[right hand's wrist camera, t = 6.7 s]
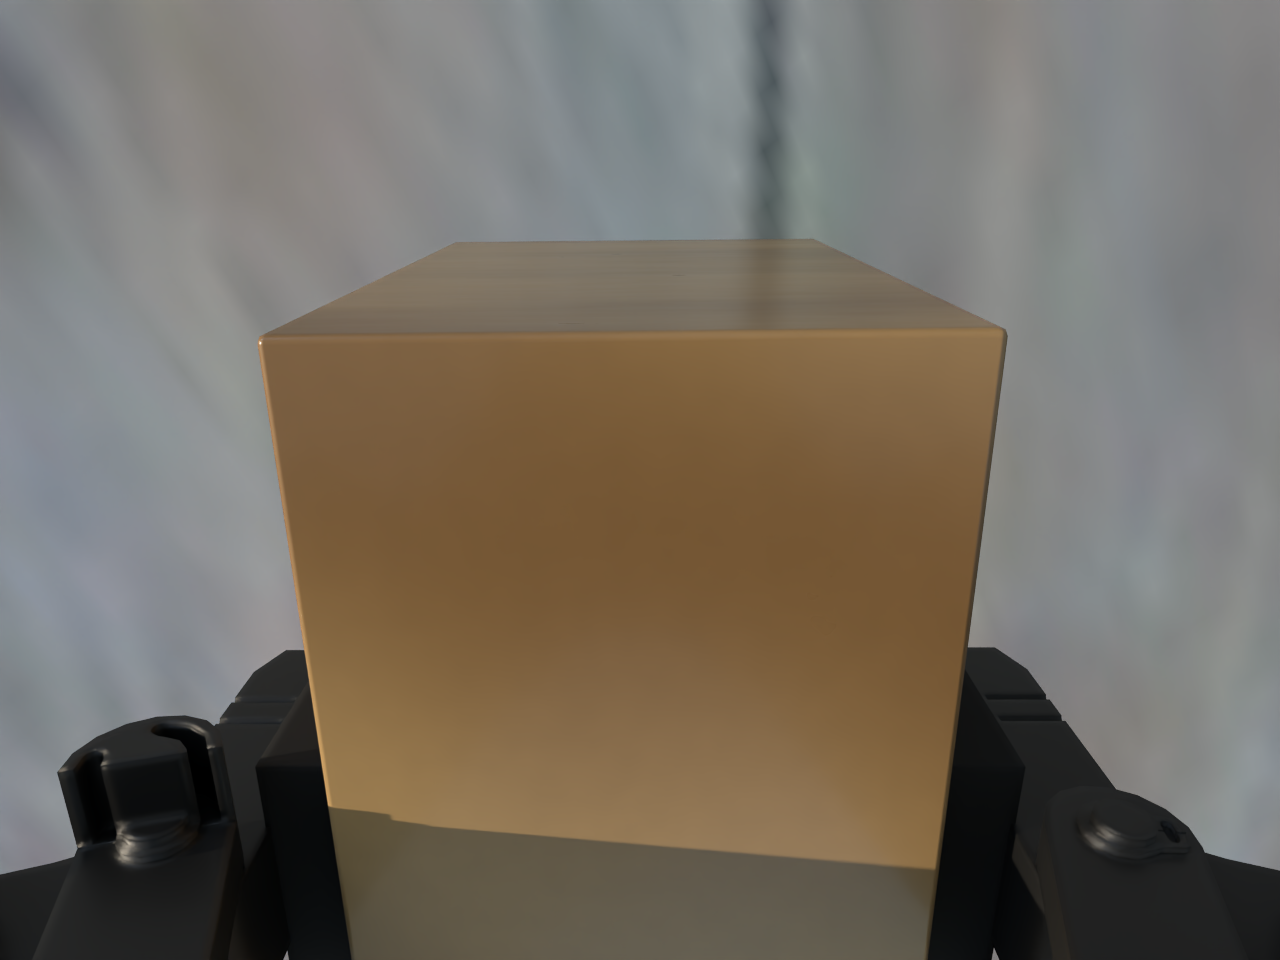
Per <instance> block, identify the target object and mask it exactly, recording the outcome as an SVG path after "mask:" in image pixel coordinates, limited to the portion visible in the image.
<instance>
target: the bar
mask: <svg viewBox="0 0 1280 960" xmlns="http://www.w3.org/2000/svg"><path fill="white" fill-rule="evenodd" d="M1007 337H1008V336H1007V332H1006V329H1003V328H1001V327H999V326H997V325H995V324H993V323H991V322H989V321H986V320H984V319H982V318H980V317H978V316H976V315H974V314H972V313H969V312H967V311H965V310H963V309H961V308H959V307H957V306H955V305H953V304H950V303H948V302H946V301H944V300H942V299H940V298H938V297H936V296H933V295H931V294H929V293H927V292H925V291H923V290H921V289H919V288H916V287H914V286H912V285H910V284H908V283H906V282H904V281H902V280H899V279H897V278H895V277H893V276H891V275H889V274H887V273H885V272H883V271H880V270H878V269H876V268H874V267H872V266H870V265H868V264H866V263H863V262H861V261H859V260H857V259H855V258H853V257H851V256H849V255H846V254H844V253H842V252H840V251H838V250H836V249H834V248H832V247H829V246H827V245H825V244H823V243H821V242H819V241H817V240H814V239H752V240H647V241H542V242H456V243H454V244H452V245H450V246H447V247H445V248H443V249H441V250H439V251H437V252H435V253H433V254H431V255H429V256H427V257H424V258H422V259H420V260H418V261H416V262H414V263H412V264H410V265H408V266H406V267H404V268H402V269H399V270H397V271H395V272H393V273H391V274H389V275H387V276H385V277H383V278H381V279H379V280H377V281H374V282H372V283H370V284H368V285H366V286H364V287H362V288H360V289H358V290H356V291H354V292H352V293H349V294H347V295H345V296H343V297H341V298H339V299H337V300H335V301H333V302H331V303H329V304H327V305H324V306H322V307H320V308H318V309H316V310H314V311H312V312H310V313H308V314H306V315H304V316H302V317H299V318H297V319H295V320H293V321H291V322H289V323H287V324H285V325H283V326H281V327H279V328H276V329H274V330H272V331H270V332H268V333H266V334H264V335H262V336H260V337H259V340H258V349H259V356H260V362H261V369H262V375H263V382H264V388H265V395H266V402H267V408H268V415H269V421H270V428H271V434H272V441H273V447H274V454H275V461H276V467H277V474H278V480H279V487H280V493H281V500H282V506H283V513H284V520H285V526H286V533H287V539H288V546H289V552H290V559H291V565H292V572H293V579H294V585H295V592H296V598H297V605H298V611H299V618H300V624H301V631H302V638H303V644H304V651H305V657H306V664H307V670H308V677H309V683H310V690H311V697H312V703H313V710H314V716H315V723H316V729H317V736H318V742H319V749H320V756H321V762H322V769H323V775H324V782H325V788H326V795H327V801H328V808H329V815H330V821H331V828H332V834H333V841H334V847H335V854H336V860H337V867H338V874H339V880H340V887H341V893H342V900H343V906H344V913H345V920H346V926H347V933H348V939H349V946H350V952H351V959H352V960H927V959H928V951H929V944H930V936H931V928H932V920H933V912H934V905H935V897H936V889H937V881H938V874H939V866H940V858H941V850H942V842H943V835H944V827H945V819H946V811H947V804H948V796H949V788H950V780H951V772H952V765H953V757H954V749H955V741H956V734H957V726H958V718H959V710H960V702H961V695H962V687H963V679H964V671H965V664H966V656H967V648H968V640H969V632H970V625H971V617H972V609H973V601H974V594H975V586H976V578H977V570H978V562H979V555H980V547H981V539H982V531H983V524H984V516H985V508H986V500H987V492H988V485H989V477H990V469H991V461H992V454H993V446H994V438H995V430H996V422H997V415H998V407H999V399H1000V391H1001V384H1002V376H1003V368H1004V360H1005V352H1006V345H1007Z"/></svg>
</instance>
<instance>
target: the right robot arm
mask: <svg viewBox="0 0 1280 960" xmlns="http://www.w3.org/2000/svg"><path fill="white" fill-rule="evenodd" d="M57 773H58V777H59V781H60V784H61V788H62V792H63V795H64V799H65V803H66V807H67V810H68V814H69V818H70V822H71V825H72V829H73V833H74V837H75V840H76V844H77V848H78V849H77V851H76V854H75V856H74V857H72V858H69V859H65V860H62V861H58V862H55V863H51V864H46V865H42V866H37V867H33V868H28V869H24V870H19V871H15V872H10V873H6V874H1V875H0V960H283V959H284V957H285V954H286V952H287V951H288V956H289V960H352V959H351V952H350V946H349V939H348V933H347V926H346V920H345V913H344V906H343V900H342V893H341V887H340V880H339V874H338V867H337V860H336V854H335V847H334V841H333V834H332V828H331V821H330V815H329V808H328V801H327V795H326V788H325V782H324V775H323V769H322V762H321V756H320V749H319V742H318V736H317V729H316V723H315V716H314V710H313V703H312V697H311V690H310V683H309V677H308V670H307V664H306V657H305V651H304V650H286V651H284V652H283V653H281V654H280V655H278V656H277V657H276V658H274V659H273V660H271V661H270V662H268V663H267V664H265V665H264V666H262V667H261V668H259V669H258V670H256V671H255V672H254V673H253V674H252V676H251V677H250V678H249V680H248V681H247V682H246V684H245V685H244V686H243V688H242V689H241V690H240V692H239V693H238V695H237V696H236V697H235V703H231V704H230V705H229V707H228V708H227V710H226V711H225V712H224V714H223V715H222V716H221V718H220V723H219V724H216V725H215V726H213V725H212V724H211V723H210V722H208V721H207V720H203V719H198V718H194V717H189V716H164V717H154V718H150V719H146V720H142V721H137V722H133V723H129V724H126V725H123V726H121V727H119V728H116V729H114V730H112V731H109V732H107V733H105V734H102V735H100V736H98V737H96V738H94V739H93V740H92V741H90V742H89V743H87V744H86V745H84V746H83V747H81V748H80V749H79V750H77V751H76V752H74V753H73V754H72V755H71V756H70V757H69V759H68V760H67V761H66V762H65V764H64V765H63V766H62V767H61V768H60V770H59V771H58V772H57ZM994 948H995V951H996V953H997V955H998V957H999V960H1280V871H1279V870H1274V869H1270V868H1265V867H1261V866H1256V865H1252V864H1247V863H1242V862H1238V861H1233V860H1229V859H1225V858H1222V857H1218V856H1215V855H1211V854H1208V853H1205V852H1204V850H1203V847H1202V846H1201V845H1200V843H1199V842H1198V840H1197V839H1196V837H1195V836H1194V834H1193V833H1192V832H1191V830H1190V829H1189V827H1188V826H1186V825H1185V824H1184V823H1182V822H1181V821H1180V820H1179V819H1177V818H1176V817H1175V816H1174V815H1172V814H1171V813H1170V812H1169V811H1167V810H1166V809H1164V808H1162V807H1160V806H1158V805H1156V804H1154V803H1152V802H1150V801H1148V800H1146V799H1144V798H1142V797H1140V796H1138V795H1135V794H1131V793H1127V792H1124V791H1120V790H1116V789H1115V787H1114V786H1113V785H1112V783H1111V782H1110V781H1109V779H1108V778H1107V776H1106V775H1105V774H1104V772H1103V771H1102V770H1101V768H1100V767H1099V766H1098V764H1097V763H1096V762H1095V760H1094V759H1093V758H1092V756H1091V755H1090V754H1089V752H1088V751H1087V749H1086V748H1085V747H1084V745H1083V744H1082V743H1081V741H1080V740H1079V739H1078V737H1077V736H1076V735H1075V733H1074V732H1073V731H1072V729H1071V728H1070V727H1069V725H1068V724H1067V722H1066V721H1062V719H1061V714H1060V713H1059V712H1058V710H1057V709H1056V708H1055V706H1054V705H1053V704H1052V702H1051V701H1050V700H1046V694H1045V693H1044V691H1043V690H1042V689H1041V687H1040V686H1039V685H1038V683H1037V682H1036V681H1035V679H1034V678H1033V677H1032V675H1031V674H1030V672H1029V671H1028V670H1027V669H1026V668H1024V667H1023V666H1022V665H1020V664H1019V663H1017V662H1016V661H1014V660H1013V659H1011V658H1010V657H1008V656H1007V655H1005V654H1004V653H1002V652H1001V651H999V650H998V649H996V648H967V656H966V664H965V671H964V679H963V687H962V695H961V702H960V710H959V718H958V726H957V734H956V741H955V749H954V757H953V765H952V772H951V780H950V788H949V796H948V804H947V811H946V819H945V827H944V835H943V842H942V850H941V858H940V866H939V874H938V881H937V889H936V897H935V905H934V912H933V920H932V928H931V936H930V944H929V951H928V959H927V960H992V954H993V949H994Z"/></svg>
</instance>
